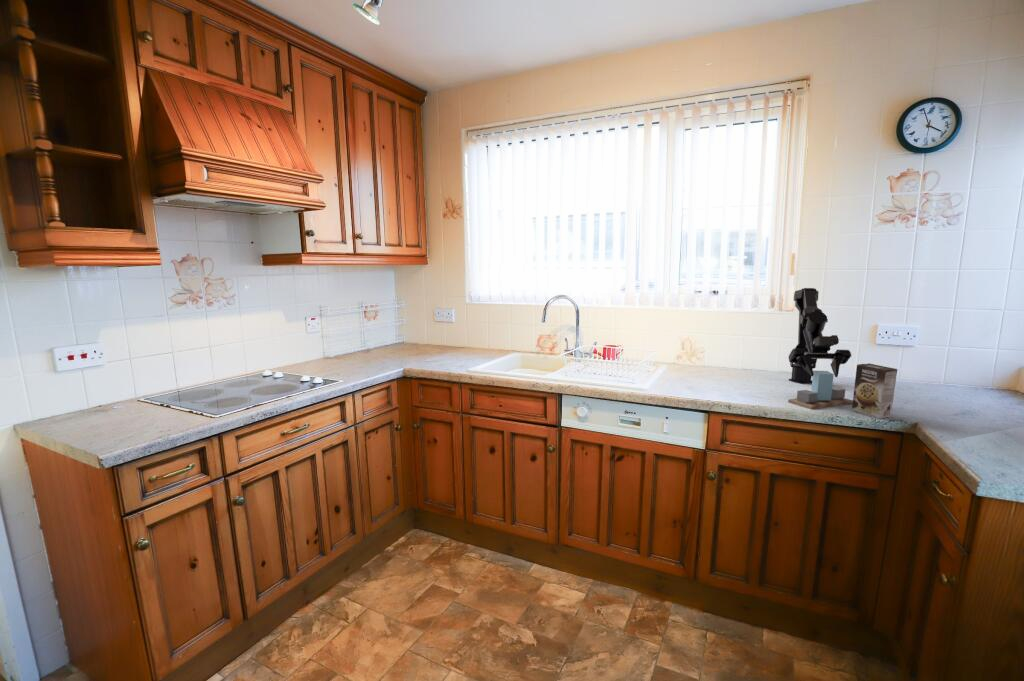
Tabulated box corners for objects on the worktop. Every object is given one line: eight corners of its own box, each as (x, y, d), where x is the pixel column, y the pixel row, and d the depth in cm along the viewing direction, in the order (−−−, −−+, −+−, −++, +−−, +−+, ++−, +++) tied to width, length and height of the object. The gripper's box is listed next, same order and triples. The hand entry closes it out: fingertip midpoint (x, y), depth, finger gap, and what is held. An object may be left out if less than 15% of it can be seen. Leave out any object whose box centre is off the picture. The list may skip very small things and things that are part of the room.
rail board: (810, 409, 165) (811, 406, 165) (788, 402, 173) (788, 399, 173) (852, 403, 171) (853, 400, 171) (828, 396, 180) (829, 393, 179)
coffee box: (850, 410, 163) (855, 364, 160) (863, 408, 165) (868, 362, 162) (879, 419, 154) (884, 370, 151) (892, 416, 156) (898, 368, 154)
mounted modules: (808, 402, 167) (808, 394, 167) (796, 399, 171) (797, 390, 171) (844, 397, 173) (845, 389, 172) (832, 394, 177) (833, 386, 176)
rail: (806, 403, 167) (806, 402, 167) (797, 401, 171) (797, 399, 171) (843, 398, 173) (843, 397, 173) (834, 396, 177) (834, 394, 176)
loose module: (816, 399, 170) (819, 373, 168) (810, 396, 175) (813, 370, 173) (830, 400, 169) (833, 374, 168) (824, 396, 174) (827, 370, 172)
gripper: (794, 326, 173) (803, 362, 165) (851, 327, 170) (864, 364, 161) (784, 344, 182) (792, 379, 173) (839, 345, 179) (850, 381, 170)
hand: (824, 376), depth 169 cm, fingers open, 7 cm apart
